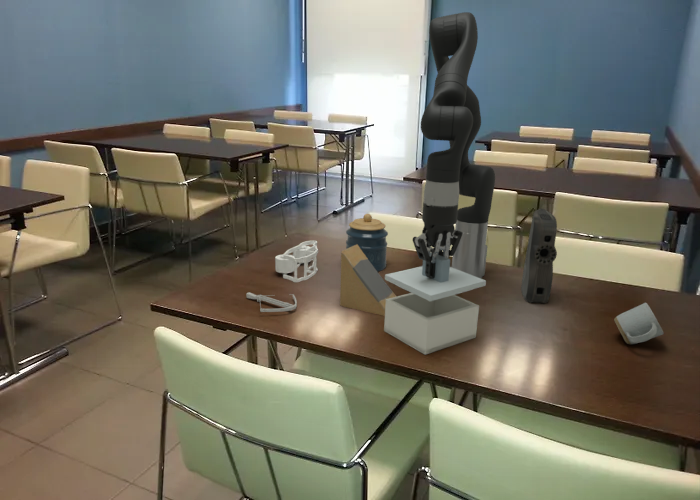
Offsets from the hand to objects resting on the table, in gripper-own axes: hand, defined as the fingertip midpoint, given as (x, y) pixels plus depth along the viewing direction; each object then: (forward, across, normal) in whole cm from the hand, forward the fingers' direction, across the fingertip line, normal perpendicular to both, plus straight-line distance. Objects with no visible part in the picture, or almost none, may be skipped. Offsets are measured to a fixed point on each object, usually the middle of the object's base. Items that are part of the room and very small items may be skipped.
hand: (435, 275), depth 123 cm
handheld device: (+15, -40, -2) cm, 42 cm away
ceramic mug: (+15, -36, +30) cm, 49 cm away
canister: (+15, -16, -46) cm, 51 cm away
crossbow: (+15, +23, -36) cm, 45 cm away
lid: (+2, 0, 0) cm, 2 cm away
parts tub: (+14, 0, 0) cm, 14 cm away
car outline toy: (+15, +3, -54) cm, 56 cm away
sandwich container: (+15, +1, -20) cm, 25 cm away
